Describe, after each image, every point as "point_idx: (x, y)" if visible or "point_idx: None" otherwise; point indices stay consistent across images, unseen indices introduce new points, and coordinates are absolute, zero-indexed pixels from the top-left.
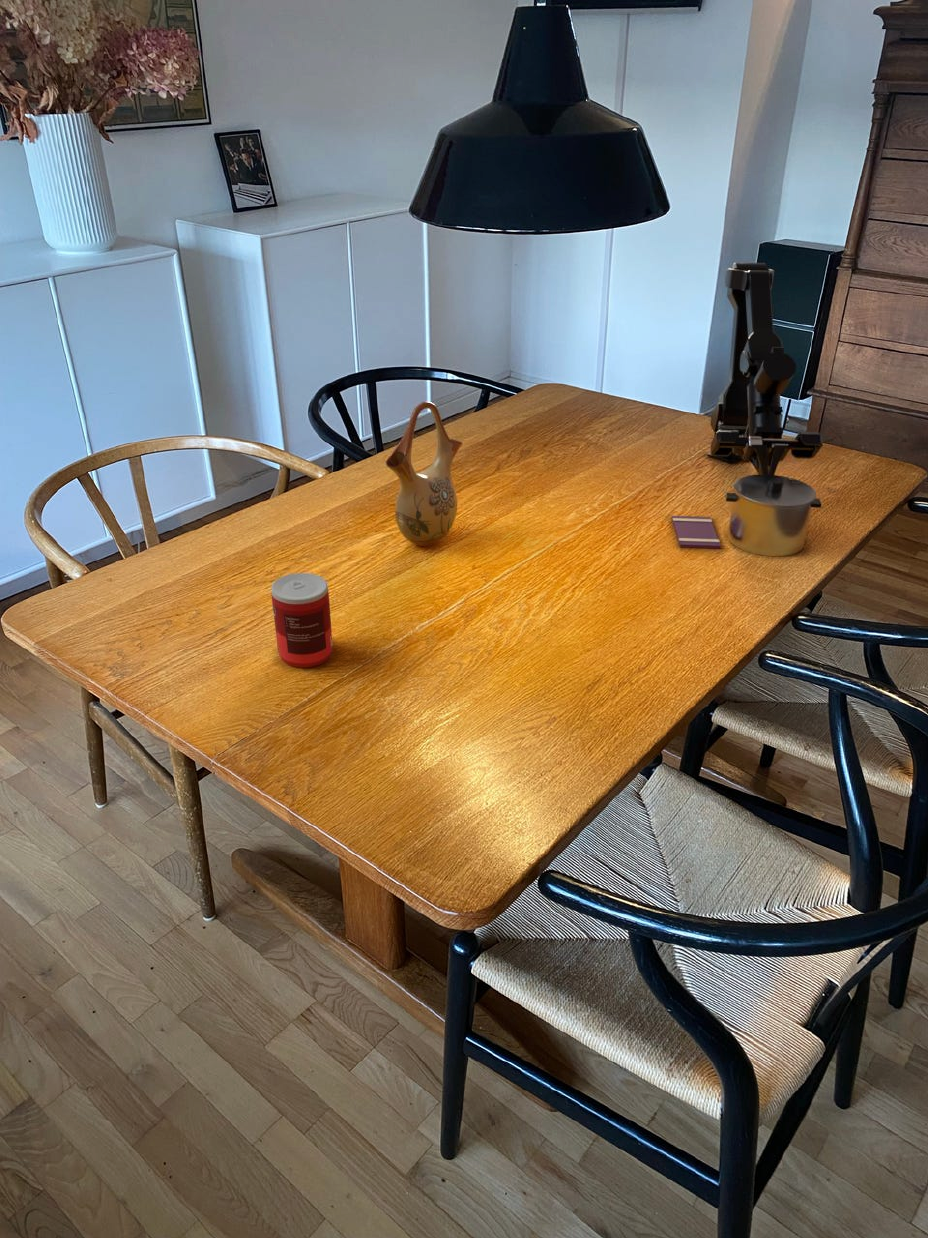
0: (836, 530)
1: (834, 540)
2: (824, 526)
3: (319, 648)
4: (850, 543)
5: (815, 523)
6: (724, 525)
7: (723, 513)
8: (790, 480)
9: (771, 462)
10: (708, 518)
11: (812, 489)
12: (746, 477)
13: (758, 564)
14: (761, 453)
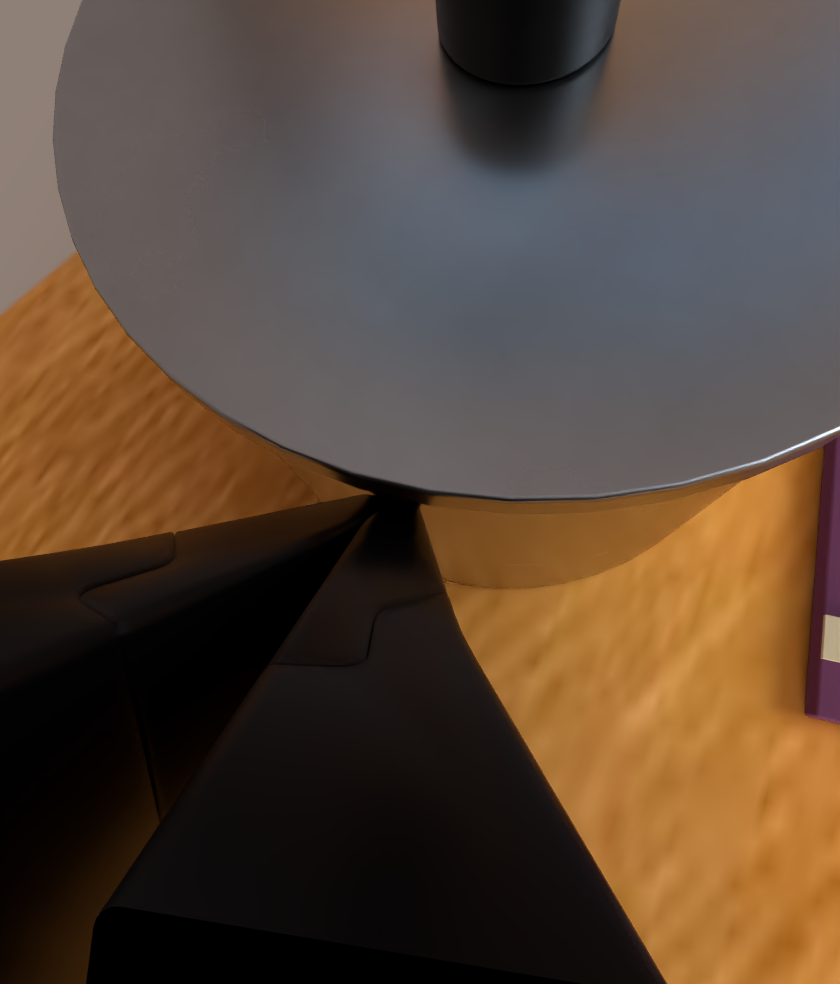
0: (20, 434)
1: (114, 318)
2: (50, 494)
3: None
4: (57, 280)
5: (75, 543)
6: (707, 600)
7: (646, 824)
8: (182, 245)
9: (222, 586)
10: (837, 687)
11: (93, 10)
12: (795, 401)
13: None
14: (411, 749)
